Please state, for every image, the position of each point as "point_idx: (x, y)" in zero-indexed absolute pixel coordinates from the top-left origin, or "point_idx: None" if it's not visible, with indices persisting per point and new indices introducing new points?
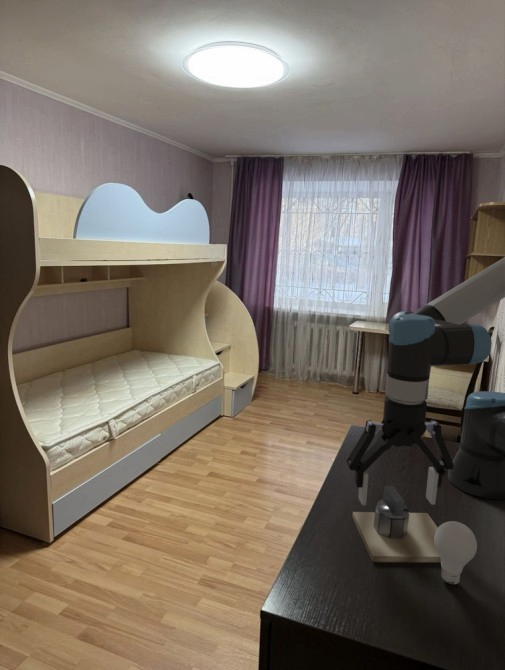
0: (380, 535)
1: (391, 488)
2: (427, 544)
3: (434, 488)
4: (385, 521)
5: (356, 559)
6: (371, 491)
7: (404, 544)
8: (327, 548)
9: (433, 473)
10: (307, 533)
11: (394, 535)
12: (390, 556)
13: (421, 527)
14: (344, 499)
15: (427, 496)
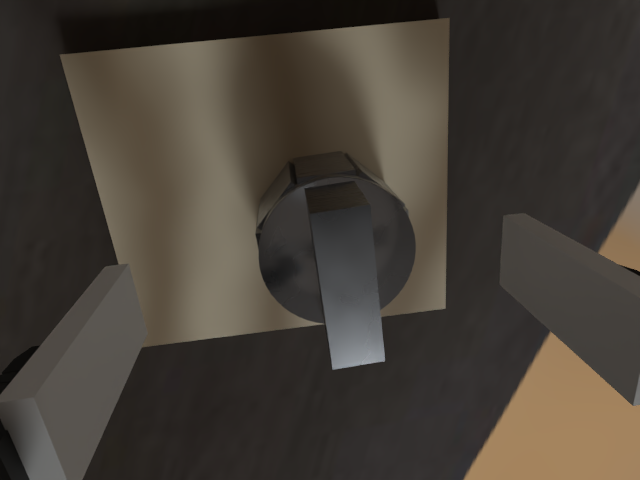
0: (377, 168)
1: (351, 342)
2: (187, 131)
3: (80, 318)
4: (378, 181)
5: (497, 32)
6: (324, 456)
7: (290, 117)
8: (588, 92)
9: (47, 410)
10: (633, 176)
11: (326, 156)
12: (372, 25)
13: (187, 247)
14: (436, 395)
15: (138, 324)
